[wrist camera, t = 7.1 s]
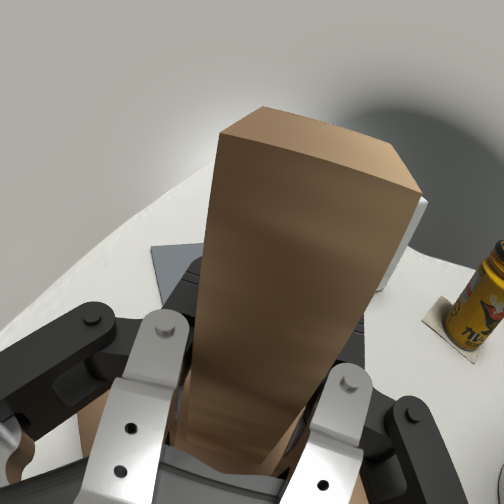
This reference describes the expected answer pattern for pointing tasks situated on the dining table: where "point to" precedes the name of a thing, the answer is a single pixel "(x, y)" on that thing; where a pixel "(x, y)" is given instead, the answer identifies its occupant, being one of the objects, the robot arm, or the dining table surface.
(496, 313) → the condiment
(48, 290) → the dining table surface
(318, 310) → the wooden stool with post
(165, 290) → the mat
